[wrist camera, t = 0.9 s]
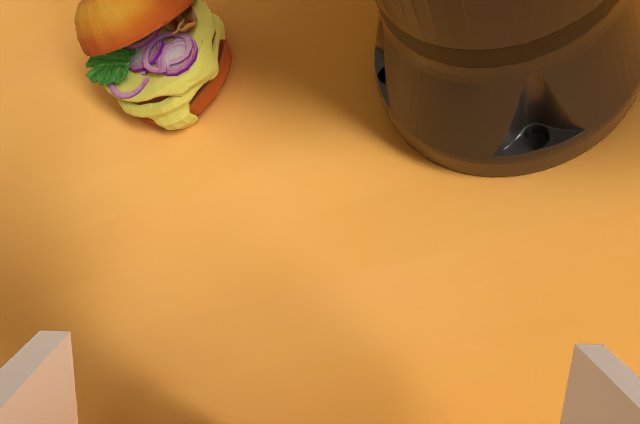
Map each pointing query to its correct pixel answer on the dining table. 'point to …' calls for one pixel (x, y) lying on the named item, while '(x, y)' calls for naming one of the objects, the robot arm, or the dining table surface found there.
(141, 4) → the cheeseburger
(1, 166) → the dining table surface
